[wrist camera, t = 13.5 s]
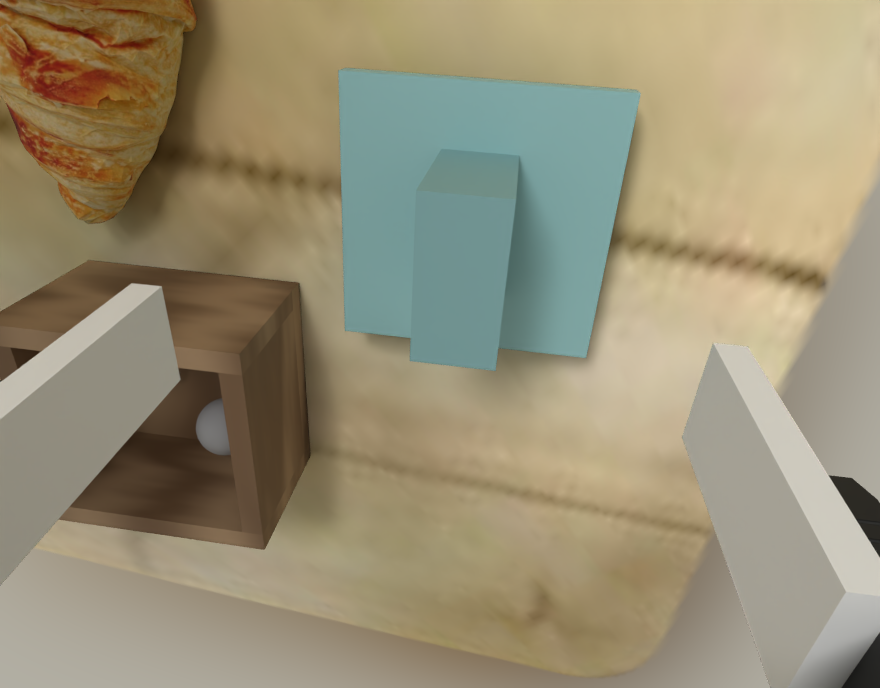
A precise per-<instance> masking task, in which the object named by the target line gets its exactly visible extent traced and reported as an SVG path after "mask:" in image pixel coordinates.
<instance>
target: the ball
mask: <svg viewBox="0 0 880 688" xmlns="http://www.w3.org/2000/svg"><path fill="white" fill-rule="evenodd" d="M196 433H197V437H198V439H199V441H200V443H201V444H202V446H203V447H204V448H205V449H207V450H208V451H210V452H212V453H214V454H217V455H224V456H226V455H231V454H230V447H229V441H228V434H227V427H226V421H225V414H224V408H223V401H222V398H220V399H217V400H214V401H212V402H211V403H209V404H208V405H206V406H205V407H204V408H203V410H202V411H201V413H200V414H199V416H198V419H197V422H196Z"/></svg>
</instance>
